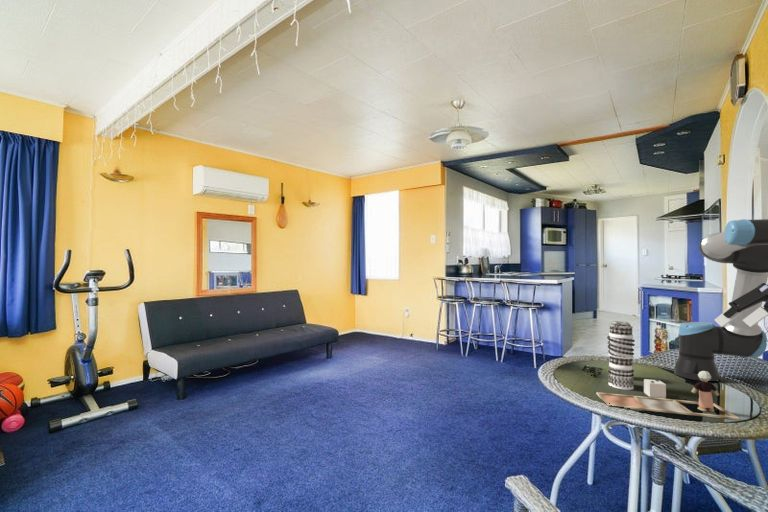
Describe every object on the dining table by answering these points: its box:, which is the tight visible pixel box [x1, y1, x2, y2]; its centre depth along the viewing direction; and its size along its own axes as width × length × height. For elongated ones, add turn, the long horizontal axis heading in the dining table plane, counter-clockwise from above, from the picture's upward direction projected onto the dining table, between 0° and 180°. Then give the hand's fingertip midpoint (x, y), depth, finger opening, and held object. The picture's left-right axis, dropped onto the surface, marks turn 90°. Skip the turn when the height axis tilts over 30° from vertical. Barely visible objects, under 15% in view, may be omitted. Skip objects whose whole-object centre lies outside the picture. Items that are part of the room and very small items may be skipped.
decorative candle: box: [606, 320, 636, 391], centre depth 144 cm, size 9×9×25 cm
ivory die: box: [643, 378, 667, 399], centre depth 134 cm, size 5×5×6 cm
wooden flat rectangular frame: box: [596, 391, 741, 421], centre depth 124 cm, size 36×13×1 cm, turn 75°
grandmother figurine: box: [691, 371, 720, 413], centre depth 121 cm, size 8×4×13 cm, turn 91°
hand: (732, 323), depth 114 cm, fingers open, 13 cm apart
